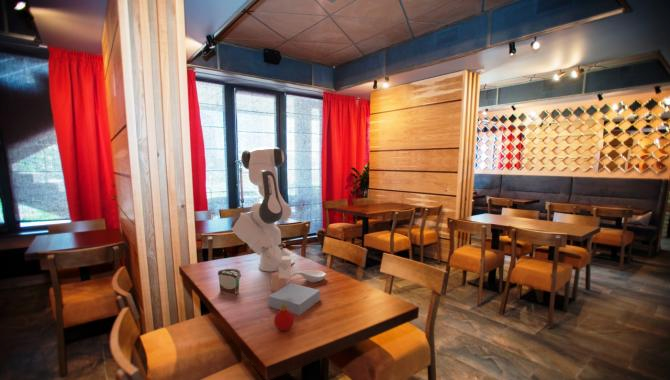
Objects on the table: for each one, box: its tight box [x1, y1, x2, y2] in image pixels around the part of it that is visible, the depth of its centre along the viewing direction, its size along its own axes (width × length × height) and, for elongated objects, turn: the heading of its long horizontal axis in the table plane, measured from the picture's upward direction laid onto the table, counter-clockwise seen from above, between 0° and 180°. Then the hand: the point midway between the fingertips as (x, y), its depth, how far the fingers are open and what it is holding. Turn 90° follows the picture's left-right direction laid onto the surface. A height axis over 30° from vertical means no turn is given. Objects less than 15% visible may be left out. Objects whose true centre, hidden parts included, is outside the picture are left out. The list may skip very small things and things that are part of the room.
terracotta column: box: [270, 271, 286, 293], centre depth 144 cm, size 5×5×8 cm
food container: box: [217, 268, 242, 296], centre depth 141 cm, size 12×6×10 cm, turn 65°
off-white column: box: [279, 255, 292, 279], centre depth 129 cm, size 5×5×8 cm
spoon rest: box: [286, 269, 327, 286], centre depth 153 cm, size 24×12×7 cm, turn 128°
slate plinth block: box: [268, 283, 321, 316], centre depth 130 cm, size 16×16×5 cm
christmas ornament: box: [273, 303, 295, 332], centre depth 109 cm, size 7×7×10 cm
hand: (286, 266), depth 129 cm, fingers closed on off-white column, 5 cm apart
